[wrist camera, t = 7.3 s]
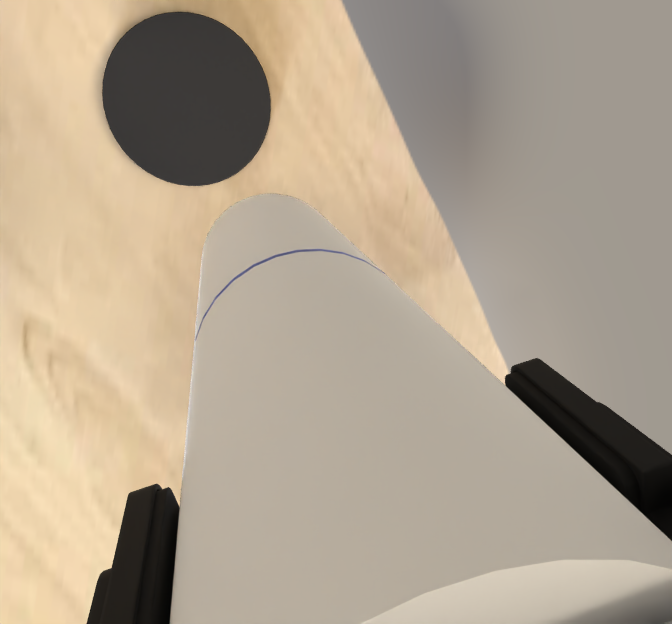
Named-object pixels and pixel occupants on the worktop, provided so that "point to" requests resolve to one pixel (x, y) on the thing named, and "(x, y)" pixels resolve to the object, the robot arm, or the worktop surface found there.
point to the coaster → (186, 98)
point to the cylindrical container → (377, 459)
